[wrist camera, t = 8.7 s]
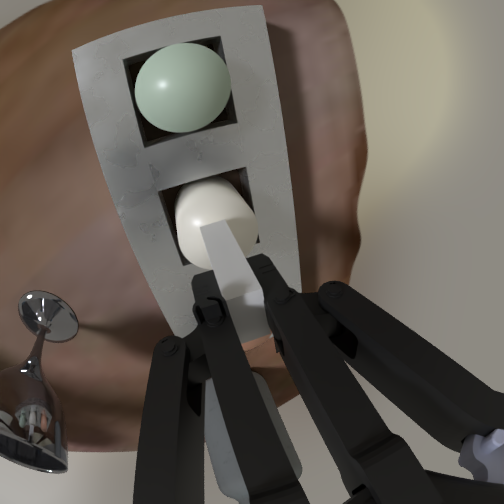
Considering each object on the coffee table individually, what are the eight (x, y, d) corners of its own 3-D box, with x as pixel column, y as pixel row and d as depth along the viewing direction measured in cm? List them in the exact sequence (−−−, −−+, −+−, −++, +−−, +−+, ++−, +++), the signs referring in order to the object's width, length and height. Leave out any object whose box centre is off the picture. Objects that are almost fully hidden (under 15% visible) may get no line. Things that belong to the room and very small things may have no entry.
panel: (186, 341, 29) (190, 362, 26) (84, 56, 13) (71, 50, 11) (292, 306, 30) (303, 325, 28) (248, 16, 15) (262, 5, 13)
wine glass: (68, 285, 22) (33, 439, 9) (90, 344, 25) (84, 478, 13) (4, 288, 19) (-47, 418, 7) (31, 344, 23) (9, 464, 11)
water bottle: (243, 407, 40) (306, 563, 17) (184, 404, 35) (237, 585, 12) (277, 369, 36) (365, 550, 13) (211, 363, 32) (291, 588, 9)
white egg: (184, 242, 22) (191, 279, 18) (166, 185, 20) (167, 210, 16) (243, 224, 23) (263, 256, 19) (232, 166, 20) (250, 186, 16)
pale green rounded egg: (151, 134, 17) (147, 144, 13) (136, 68, 15) (126, 57, 11) (221, 115, 18) (238, 119, 14) (208, 50, 15) (222, 35, 11)
